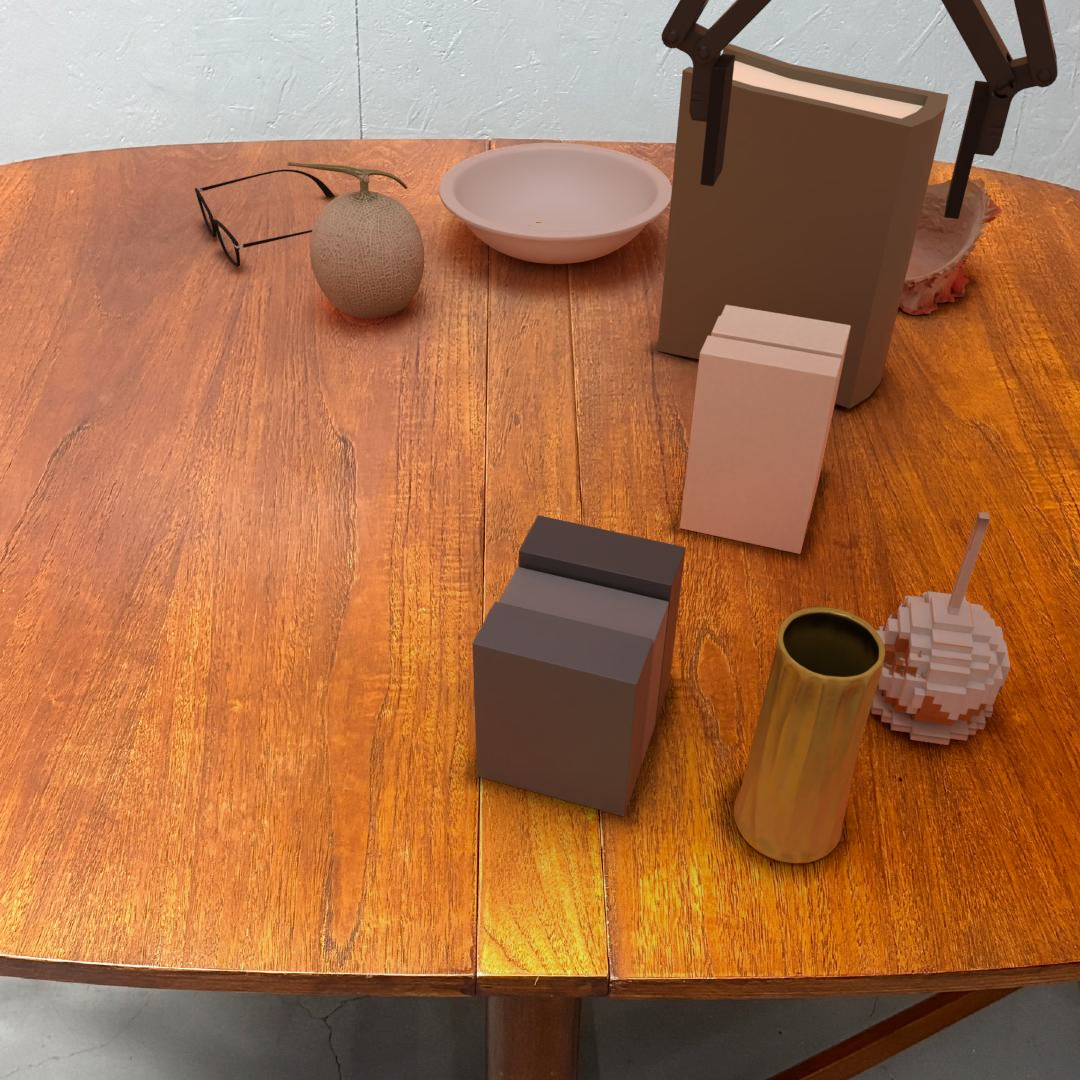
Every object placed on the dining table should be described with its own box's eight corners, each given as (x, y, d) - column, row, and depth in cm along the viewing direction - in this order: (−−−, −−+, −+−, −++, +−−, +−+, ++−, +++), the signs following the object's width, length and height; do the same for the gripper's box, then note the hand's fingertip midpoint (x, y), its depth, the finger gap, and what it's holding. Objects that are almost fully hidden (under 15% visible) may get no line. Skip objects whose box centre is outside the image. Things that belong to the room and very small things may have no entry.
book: (890, 373, 103) (959, 89, 87) (856, 416, 97) (923, 121, 81) (699, 314, 111) (729, 43, 95) (657, 350, 105) (682, 70, 89)
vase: (859, 856, 64) (916, 677, 55) (754, 874, 63) (794, 696, 54) (817, 770, 68) (863, 592, 59) (718, 786, 67) (750, 607, 58)
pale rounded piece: (858, 649, 76) (907, 466, 66) (979, 666, 75) (1047, 482, 65) (861, 738, 70) (915, 551, 61) (993, 757, 69) (1070, 570, 60)
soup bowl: (400, 230, 125) (396, 170, 120) (582, 183, 135) (584, 126, 131) (520, 322, 109) (520, 258, 105) (714, 261, 120) (721, 200, 115)
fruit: (455, 302, 112) (449, 151, 103) (374, 349, 105) (359, 192, 95) (376, 271, 117) (363, 124, 107) (294, 315, 110) (272, 162, 100)
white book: (800, 554, 83) (836, 377, 74) (679, 528, 86) (699, 352, 76) (805, 533, 85) (841, 358, 76) (686, 508, 87) (707, 334, 78)
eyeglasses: (193, 218, 126) (186, 183, 124) (329, 192, 132) (325, 157, 129) (238, 280, 115) (231, 243, 112) (384, 248, 121) (381, 212, 118)
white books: (808, 522, 86) (843, 354, 77) (691, 498, 88) (711, 331, 79) (820, 475, 91) (854, 311, 82) (708, 453, 93) (729, 291, 84)
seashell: (875, 244, 127) (782, 276, 119) (892, 145, 121) (795, 171, 113) (1011, 292, 116) (917, 330, 108) (1037, 186, 110) (940, 218, 102)
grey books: (624, 817, 65) (637, 677, 58) (476, 776, 68) (471, 636, 60) (669, 684, 73) (686, 546, 66) (536, 651, 76) (537, 514, 68)
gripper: (1197, -256, 52) (1058, 197, 65) (659, -276, 58) (633, 143, 71) (1217, -241, 46) (1061, 251, 60) (620, -265, 52) (600, 187, 66)
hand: (828, 193), depth 65 cm, fingers open, 13 cm apart
